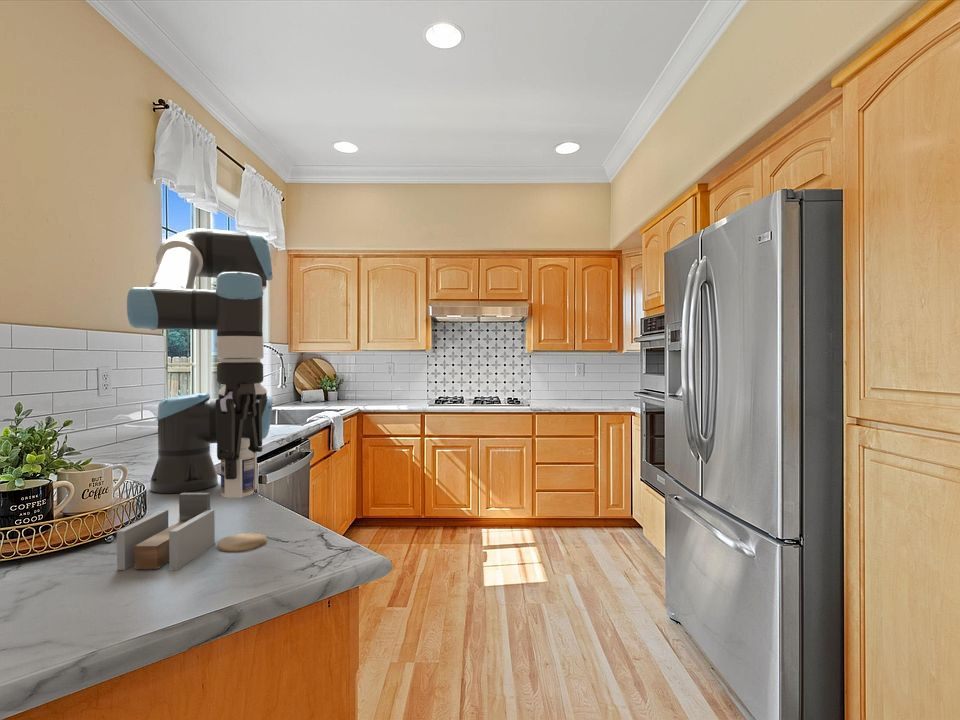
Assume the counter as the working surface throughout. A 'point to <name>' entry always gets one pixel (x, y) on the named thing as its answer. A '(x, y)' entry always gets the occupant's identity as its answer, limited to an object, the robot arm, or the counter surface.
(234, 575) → the counter surface
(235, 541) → the coaster
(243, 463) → the pill bottle
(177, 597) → the counter surface
